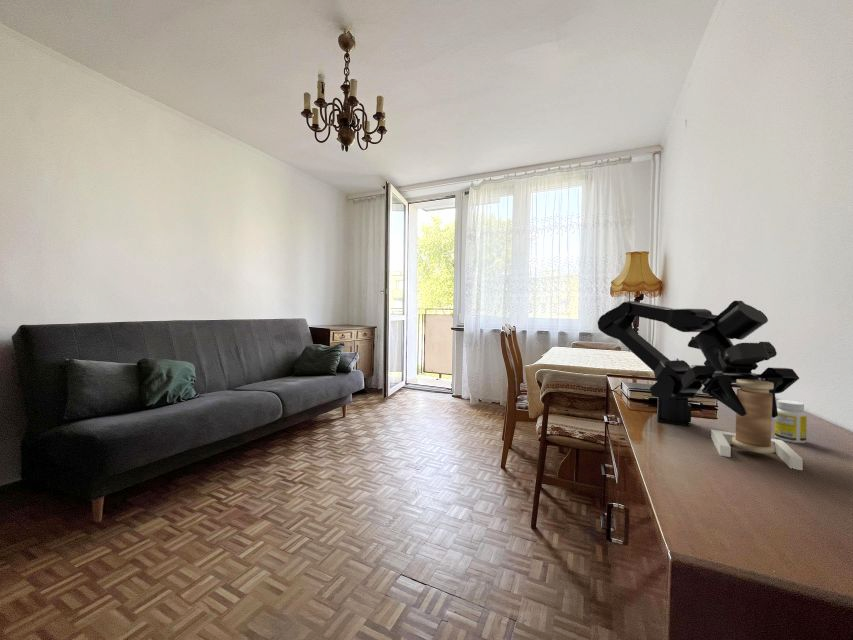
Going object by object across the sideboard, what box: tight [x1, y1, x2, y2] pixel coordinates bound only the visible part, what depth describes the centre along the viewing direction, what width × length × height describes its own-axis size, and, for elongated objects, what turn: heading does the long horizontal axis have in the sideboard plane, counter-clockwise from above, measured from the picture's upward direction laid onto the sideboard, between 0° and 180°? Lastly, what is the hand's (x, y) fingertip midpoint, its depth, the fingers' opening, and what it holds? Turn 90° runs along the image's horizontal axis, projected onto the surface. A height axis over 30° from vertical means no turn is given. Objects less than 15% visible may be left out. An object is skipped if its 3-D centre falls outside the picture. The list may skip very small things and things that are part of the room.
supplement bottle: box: [774, 399, 808, 444], centre depth 74 cm, size 5×5×8 cm
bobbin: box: [731, 379, 775, 454], centre depth 66 cm, size 6×6×13 cm
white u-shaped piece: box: [710, 429, 804, 471], centre depth 66 cm, size 11×11×2 cm
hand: (759, 415), depth 64 cm, fingers closed on bobbin, 5 cm apart
